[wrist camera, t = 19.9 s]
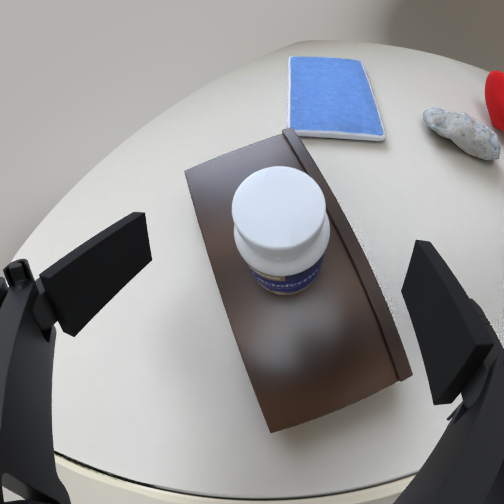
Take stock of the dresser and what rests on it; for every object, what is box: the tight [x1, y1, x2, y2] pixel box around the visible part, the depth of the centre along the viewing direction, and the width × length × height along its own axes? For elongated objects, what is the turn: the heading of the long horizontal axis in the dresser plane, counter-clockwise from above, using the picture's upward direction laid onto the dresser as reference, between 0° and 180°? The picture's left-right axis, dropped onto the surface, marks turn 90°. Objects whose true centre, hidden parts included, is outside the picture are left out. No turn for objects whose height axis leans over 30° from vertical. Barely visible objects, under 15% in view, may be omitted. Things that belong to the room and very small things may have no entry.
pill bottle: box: [232, 166, 330, 295], centre depth 18 cm, size 6×6×10 cm
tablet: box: [287, 56, 386, 141], centre depth 33 cm, size 19×13×1 cm, turn 175°
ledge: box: [184, 127, 413, 433], centre depth 24 cm, size 26×12×5 cm, turn 20°
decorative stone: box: [423, 108, 501, 160], centre depth 26 cm, size 13×7×5 cm, turn 77°
